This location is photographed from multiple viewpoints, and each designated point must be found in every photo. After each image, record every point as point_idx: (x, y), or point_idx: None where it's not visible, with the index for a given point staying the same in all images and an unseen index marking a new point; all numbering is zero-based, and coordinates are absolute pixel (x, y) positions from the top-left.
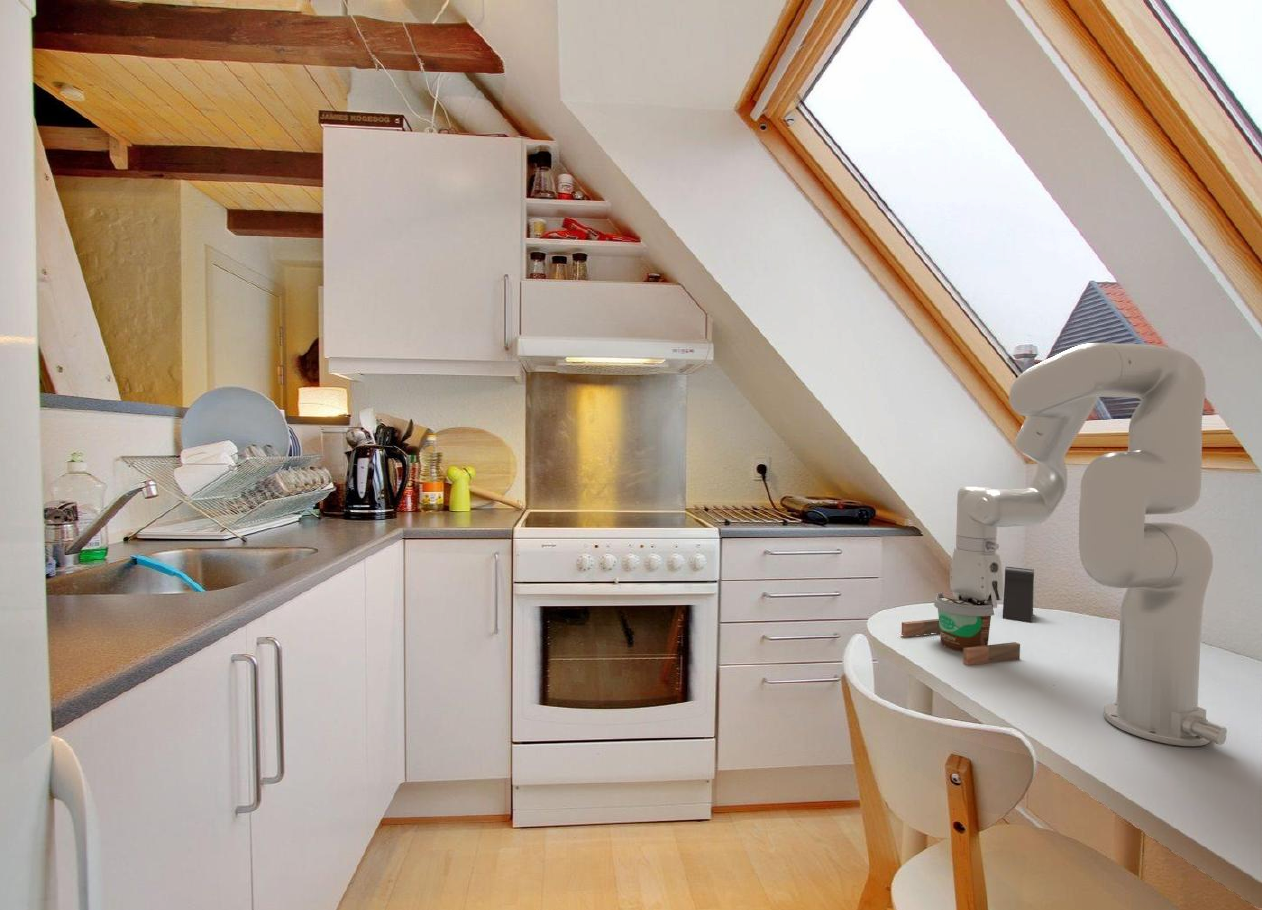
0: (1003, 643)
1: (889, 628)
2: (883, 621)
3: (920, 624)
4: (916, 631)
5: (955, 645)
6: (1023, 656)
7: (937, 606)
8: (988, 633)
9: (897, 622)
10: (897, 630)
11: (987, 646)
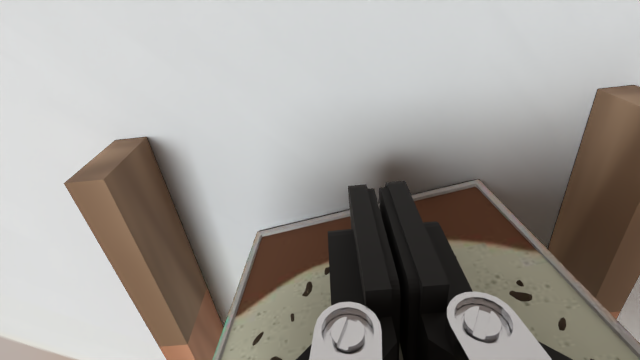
0: (636, 210)
1: (115, 345)
2: (7, 325)
3: (197, 347)
4: (213, 332)
5: None
6: (627, 24)
7: None
8: (542, 248)
9: (5, 287)
10: (140, 334)
11: (606, 306)
